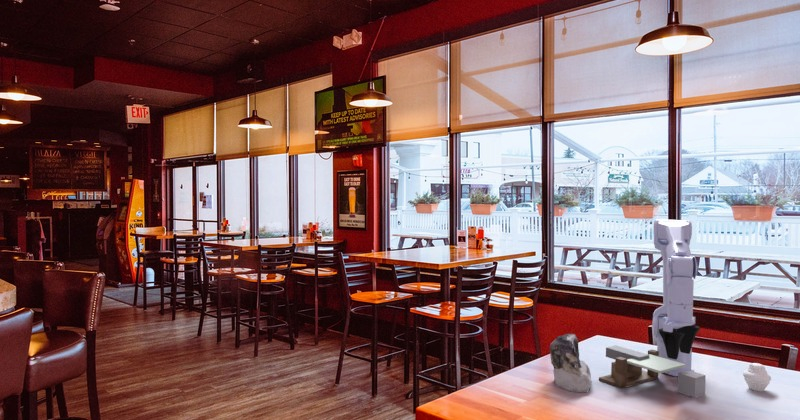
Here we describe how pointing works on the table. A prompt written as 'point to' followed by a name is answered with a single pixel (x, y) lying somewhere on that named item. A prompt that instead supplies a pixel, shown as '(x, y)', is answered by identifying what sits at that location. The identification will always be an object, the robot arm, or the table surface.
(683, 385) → the granite cube
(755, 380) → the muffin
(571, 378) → the stone
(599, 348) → the table surface
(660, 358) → the trapdoor
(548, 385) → the table surface
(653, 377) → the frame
